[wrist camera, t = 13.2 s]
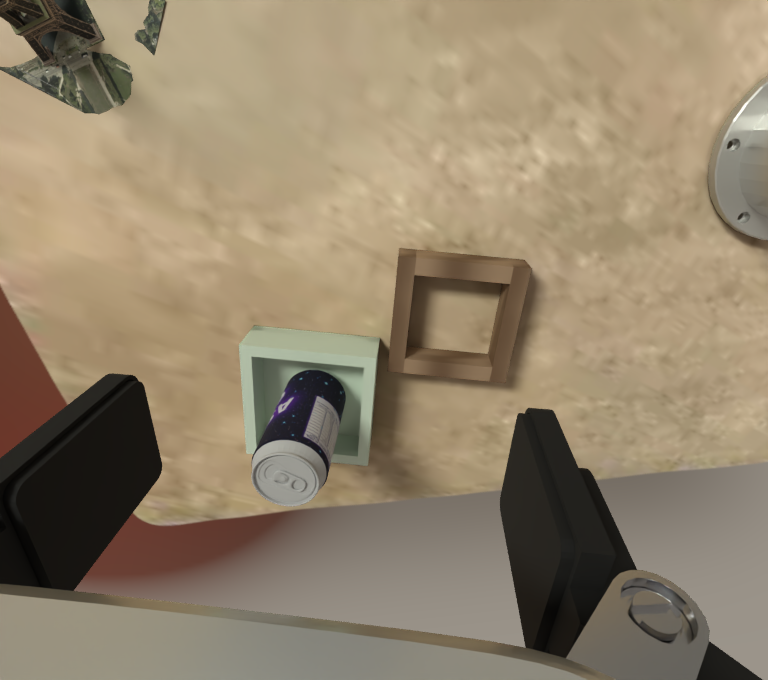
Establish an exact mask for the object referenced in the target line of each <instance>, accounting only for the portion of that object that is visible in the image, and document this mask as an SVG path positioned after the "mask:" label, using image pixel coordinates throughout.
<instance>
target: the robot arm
mask: <svg viewBox="0 0 768 680" xmlns="http://www.w3.org/2000/svg"><path fill="white" fill-rule="evenodd" d="M728 143H729V145H728V147H727V144H728ZM708 185H709V191H710V197H711V200H712V202H713V204H714V207H715V209H716V211H717V212H718V214H719V215H720V216H721V218H722V219H723V220H724V222H726V223H727V224H728V225H730V226H731V227H732V228H733V229H735V230H736V231H739V232H741V233H743V234H745V235H748V236H751V237H754V238H758V239H761V240H768V76H766V77H765V78H764V79H762V80H761V81H760V82H759V83H758V84H757V85H756V86H754V87H753V88H752V89H751V90H750V91H749V92H748V93H747V94H746V95H745V96H744V97H743V98H742V100H741V101H740V102H739V103H738V105H737V106H736V107H735V108H734V109H733V111H732V112H731V114H730V115H729V117H728V118H727V120H726V122H725V123H724V125H723V127H722V128H721V130H720V132H719V135H718V137H717V140H716V142H715V144H714V147H713V150H712V154H711V159H710V163H709V173H708ZM161 471H162V462H161V457H160V453H159V449H158V444H157V440H156V436H155V432H154V427H153V423H152V419H151V414H150V410H149V406H148V401H147V397H146V393H145V388H144V385H143V384H142V382H139V381H138V379H137V378H136V377H135V376H133V375H123V374H108V375H106V376H104V377H103V378H102V379H101V380H99V381H98V382H97V383H95V384H94V385H93V386H92V387H90V388H89V389H88V390H87V391H85V392H84V393H83V394H81V395H80V396H79V397H78V398H76V399H75V400H74V401H73V402H71V403H70V404H69V405H67V406H66V407H65V408H64V409H62V410H61V411H60V412H58V413H57V414H56V415H55V416H53V417H52V418H51V419H50V420H48V421H47V422H46V423H44V424H43V425H42V426H41V427H40V428H38V429H37V430H36V431H34V432H33V433H32V434H30V435H29V436H28V437H27V438H25V439H24V440H23V441H22V442H20V443H19V444H18V445H17V446H15V447H14V448H13V449H12V450H10V451H9V452H8V453H6V454H5V455H4V456H2V457H1V458H0V680H762V679H761V678H759V677H758V676H757V675H755V674H754V673H752V672H751V671H749V670H748V669H747V668H745V667H744V666H743V665H741V664H740V663H739V662H737V661H736V660H734V659H733V658H732V657H730V656H729V655H727V654H726V653H725V652H723V651H722V650H720V649H719V648H718V647H716V646H715V645H714V644H712V643H711V642H709V627H708V625H707V621H706V618H705V616H704V615H703V613H702V611H701V610H700V609H699V607H698V605H697V604H696V603H695V602H694V601H693V600H692V599H691V598H690V596H689V595H688V594H686V592H685V591H683V590H682V589H681V588H679V587H678V586H676V585H675V584H674V583H672V582H671V581H669V580H667V579H665V578H663V577H661V576H659V575H657V574H654V573H650V572H647V571H643V570H637V569H636V567H635V564H634V562H633V560H632V558H631V556H630V554H629V552H628V549H627V547H626V545H625V543H624V541H623V539H622V537H621V534H620V533H619V530H618V528H617V526H616V524H615V522H614V519H613V517H612V515H611V513H610V511H609V509H608V506H607V504H606V502H605V500H604V498H603V496H602V494H601V492H600V489H599V487H598V485H597V483H596V481H595V479H594V476H593V475H592V473H591V472H590V471H589V470H588V469H585V468H578V466H577V464H576V461H575V459H574V457H573V454H572V452H571V450H570V448H569V445H568V443H567V441H566V438H565V436H564V434H563V431H562V429H561V427H560V424H559V422H558V420H557V418H556V415H555V413H554V411H553V410H548V409H536V408H528V409H527V410H526V412H525V414H523V413H519V414H518V416H517V419H516V424H515V429H514V434H513V439H512V444H511V448H510V453H509V458H508V463H507V468H506V473H505V477H504V482H503V487H502V492H501V497H500V511H501V517H502V522H503V528H504V533H505V538H506V544H507V549H508V554H509V560H510V565H511V571H512V576H513V581H514V587H515V592H516V598H517V603H518V608H519V614H520V619H521V625H522V630H523V635H524V641H525V646H526V648H523V647H518V646H513V645H507V644H502V643H497V642H491V641H485V640H478V639H471V638H463V637H457V636H449V635H442V634H435V633H428V632H420V631H413V630H405V629H397V628H388V627H380V626H373V625H364V624H356V623H348V622H340V621H331V620H323V619H314V618H306V617H298V616H290V615H281V614H272V613H263V612H255V611H247V610H238V609H229V608H220V607H212V606H203V605H194V604H186V603H177V602H167V601H159V600H151V599H141V598H132V597H123V596H114V595H104V594H95V593H86V592H77V591H74V589H75V588H76V587H77V585H78V584H79V583H80V581H81V580H82V579H83V577H84V576H85V575H86V573H87V572H88V571H89V570H90V568H91V567H92V566H93V564H94V563H95V562H96V560H97V559H98V558H99V556H100V555H101V554H102V552H103V551H104V549H105V548H106V547H107V546H108V544H109V543H110V542H111V540H112V539H113V538H114V536H115V535H116V534H117V532H118V531H119V530H120V529H121V527H122V526H123V525H124V523H125V522H126V521H127V519H128V518H129V516H130V515H131V514H132V513H133V511H134V510H135V509H136V507H137V506H138V505H139V503H140V502H141V501H142V500H143V498H144V497H145V496H146V494H147V493H148V492H149V490H150V489H151V488H152V486H153V485H154V484H155V482H156V481H157V480H158V478H159V476H160V474H161Z"/></svg>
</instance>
